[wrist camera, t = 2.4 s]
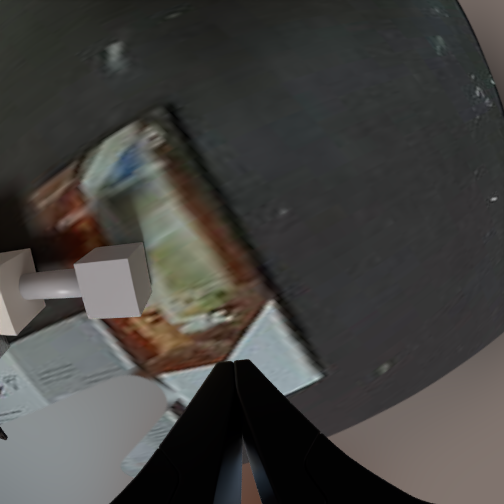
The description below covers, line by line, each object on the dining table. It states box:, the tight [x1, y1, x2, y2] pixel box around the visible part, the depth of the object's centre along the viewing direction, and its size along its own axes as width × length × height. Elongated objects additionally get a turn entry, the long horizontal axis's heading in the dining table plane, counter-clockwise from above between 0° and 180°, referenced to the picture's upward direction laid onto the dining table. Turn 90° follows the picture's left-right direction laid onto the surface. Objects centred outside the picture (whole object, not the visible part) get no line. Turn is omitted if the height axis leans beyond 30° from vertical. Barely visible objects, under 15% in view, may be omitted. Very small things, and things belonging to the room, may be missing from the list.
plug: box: [0, 242, 152, 336], centre depth 14 cm, size 4×16×4 cm, turn 94°
